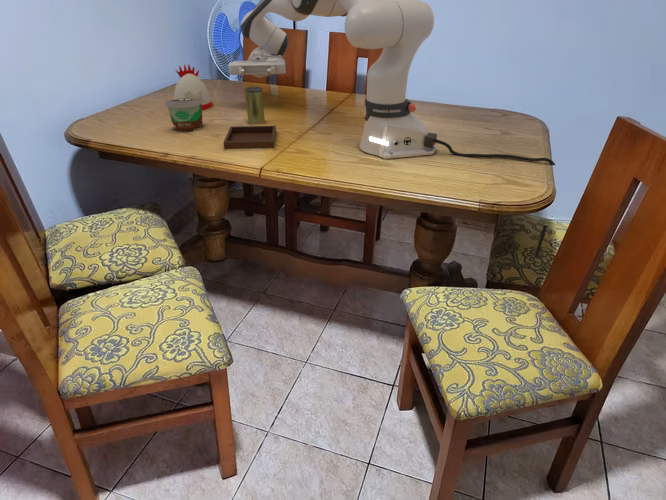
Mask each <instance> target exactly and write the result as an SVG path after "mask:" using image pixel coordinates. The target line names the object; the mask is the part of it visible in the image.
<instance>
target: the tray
mask: <svg viewBox="0 0 666 500" xmlns="http://www.w3.org/2000/svg"><path fill="white" fill-rule="evenodd" d="M276 136H277V125H243V126H238V125H237V126H235V125H234V126H229V129H228V131H227V133H226V135H225V138H224V140H223V149H224V150H241V149H242V150H243V149H244V150H245V149H247V150H249V149H274V148H275V142H276Z"/></svg>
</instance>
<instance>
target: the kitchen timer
mask: <svg viewBox="0 0 666 500" xmlns="http://www.w3.org/2000/svg"><path fill="white" fill-rule="evenodd" d="M178 70H179V71H178ZM178 70H177V69H176V68H175V72H176V73H177V75H178V76H179V79H178V80H177V81H176V84H175V86H174V87H173V90H174V91H173V100H177V99H182V98H189V99H196V98H199V97H200V96H201V97H202V98H203V101H204V102H203V103H202V111H203V110H207V109H209V108H211V107H212V106H213V101H212V97H211V94H210V92H209V90H208V87H207V86H206V84H205V83H204V82H203V80H202V79H201V78H200V77H199V72H200V71H199V69H197V71H196V72H195V66H193V67H192V69H191V65H190V64H189V63H188V65H187V67H186V64H184V66H183V69H182V67H181V65H178Z"/></svg>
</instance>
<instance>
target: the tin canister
mask: <svg viewBox="0 0 666 500" xmlns="http://www.w3.org/2000/svg"><path fill="white" fill-rule="evenodd" d="M244 95H245V103H246V105H245V106H246V112H247V122H248V124H251V125H259V124H263V123H265V122H266V121H265V109H264V97H263V88H262V87H261V86H248V87H245V88H244Z"/></svg>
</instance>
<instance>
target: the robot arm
mask: <svg viewBox="0 0 666 500" xmlns="http://www.w3.org/2000/svg"><path fill="white" fill-rule="evenodd" d="M268 13H273V14H276V15H279V16H281V17H282V18H284V19H287V20H289V21H292V22H301V21H304V20H306V19H307V18H308V17H309V16H316V17H324V18H332V17H333V18H334V17H345V20H344V33H345V37H346V39H347V41H348V43H349V44H350V45H351V46H352V47H353V48H356V49H357V48H358V49H363V50H364V49H365V50H379V49H382V52H381V54H380V55H379V58H378V59H377V60H376V61H375V62H373V64H372V65H370V67H369V68H368V70H367V74H366V97H365V99H364V104H363V119H364V126H363V131H362V136H361V138H360V142H359V145H358V148H359V149H360V150H361V151H363V153H366V154H370V155H374V156H378V157H380V158H382V159H386V160H389V159H390V160H391V159H399V158H400V159H401V158H410V157H419V156H421V157H422V156H429V155H430V156H431V155H434V154H435V153H436V144H439V145H442V146H445V147H446V148H447V149H448V151H449V153H451V154H452V155H454V156H458V157H465V158H505V159H513V160H519V161H526V162H547V163H548V164H549V165H551V166H556V163H555V161H553V160H552V159H550V158H548V157H528V156H521V155H515V154H514V155H513V154H505V153H504V154H503V153H461V152H458V151H455V150H453V147H452V146H451V145H450V144H449V143H447V142H446V141H443V140H440V139H438V133H434V132H429V131H428V128H427V126H426V124H425V123H424V122H423V121H421V120H420V118H418V117H417V116H416V115H414V114H413V113H415V112H416V110H417V107H416V105H415V103H413V102H412V101H410V100H409V99H408V98H406V97H407V96H406V95H407V87H408V79H409V73H410V69H411V66H412V62H413V60H414V58H415V55H416V53H417V52H418V51H419V49H420V47H421V45H422V44H423V43H424V42H425V41H426V40H427V39H428V38H429V37H430V35H431V34H432V31H433V29H434V25H435V16H434V12H433V9H432V7H431V6H430V4H428V2H425V1H422V0H259V2H258V3H257V4H255V6H254V7H253V8H252V9H251V10H250V11H248V12H247V13H246V14H245V15H244V16H243V17H242V19H241V22H240V25H239V28H240V31H241V34H242V36H243V37H244V38H246V39H248V40H249V41H251V42H252V43H254V44H255V45H257V47H255V48H254V49H253V50H252V51H251V52H250V55H248V58H247V60H234V61H231V62H230V63H228V73H229V75H231V76H248V75H249V76H253V77H255V78H259V79H261V78H264V77H269V76H273V75H274V76H275V75H285V74H287V70H286V69H287V68H286V66H287V65H286V61H285V59H284V58H283V56H284V55H285V52H286V50H287V48H288V45H289V36H288V33H286V32H285V31H284V30H283V29H281V28H280V27H278V26H277V25H276V24H275V23H273V22H271V20H269V19H268V18H267V17H266V16H267V14H268ZM547 228H548V225H547V224H546V225H545V224H544V225H543V227H542V229H541V233H540V238H539V240H538V244H537V247H536V250H535V254H534V256H535V257H537V258H538V257H539V254H540V251H541V248H542V244H543V241H544V238H545V236H546V235H545V234H546V231H547Z"/></svg>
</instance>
